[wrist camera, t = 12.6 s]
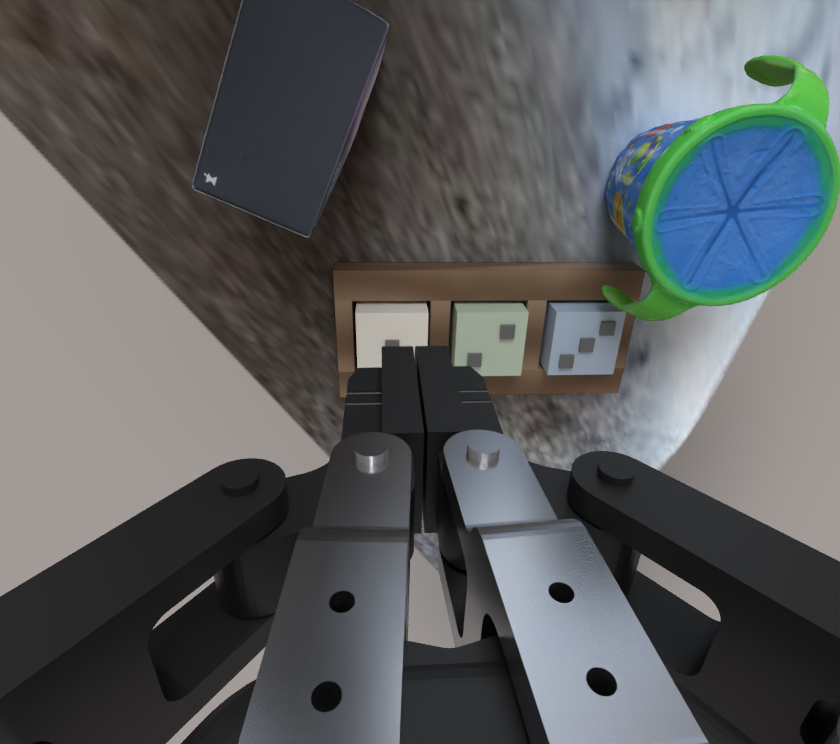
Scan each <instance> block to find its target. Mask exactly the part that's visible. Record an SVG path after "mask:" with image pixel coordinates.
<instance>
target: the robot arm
mask: <svg viewBox="0 0 840 744" xmlns="http://www.w3.org/2000/svg"><path fill="white" fill-rule="evenodd" d="M345 403H346V405H345V411H344V420H343V429H342V438H341V441H340V442H339V443H338V444H337V445H336V446H335V447H334V449H333V450H332V453H331V456H330V460H329V462H328V463H327V464H325V465H324V466H322V467H320V468H318V469H316V470H313V471H311V472H307V473H304V474H300V475H296V476H292V477H288V478H286V477H285V473H284V472H283V470H282V469H281V468H280V467H279V466H278V465H276V464H275V463H273V462H270V461H267V460H263V459H252V458H251V459H250V458H249V459H240V460H234V461H231V462H227V463H225V464H223V465H220V466H218V467H216V468H214V469H212V470H211V471H209V472H207V473H206V474H204V475H202V476H201V477H199V478H197V479H196V480H194V481H193V482H191V483H189V484H187V485H186V486H184V487H182V488H181V489H179V490H178V491H176V492H174V493H173V494H171V495H169V496H167V497H166V498H164V499H163V500H161V501H159V502H158V503H156V504H154V505H152V506H151V507H149V508H147V509H146V510H144V511H142V512H141V513H139V514H137V515H136V516H134V517H132V518H131V519H129V520H127V521H126V522H124V523H122V524H121V525H119V526H117V527H116V528H114V529H112V530H111V531H109V532H107V533H106V534H104V535H102V536H101V537H99V538H97V539H96V540H94V541H92V542H91V543H89V544H87V545H86V546H84V547H83V548H81V549H79V550H77V551H76V552H74V553H72V554H71V555H69V556H67V557H66V558H64V559H62V560H61V561H59V562H57V563H56V564H54V565H53V566H51V567H49V568H47V569H46V570H44V571H42V572H41V573H39V574H37V575H36V576H34V577H32V578H31V579H29V580H27V581H26V582H24V583H22V584H21V585H19V586H18V587H16V588H14V589H12V590H11V591H9V592H7V593H6V594H4V595H2V596H1V597H0V744H166V743H167V742H168V741H169V740H170V739H171V738H172V737H173V736H174V735H175V734H176V733H177V732H178V731H179V730H180V729H181V728H182V727H183V726H184V725H185V724H186V723H187V722H188V721H189V720H190V719H191V718H192V717H193V716H194V715H195V714H197V712H199V711H200V710H201V709H202V708H203V707H204V706H205V705H206V704H207V703H208V702H209V701H210V700H211V699H212V698H213V697H214V696H215V695H216V694H217V693H218V692H219V691H220V690H221V689H222V688H223V687H224V686H225V685H226V684H227V683H228V682H229V681H230V680H232V679H233V678H234V677H235V676H236V675H237V674H238V673H239V672H240V671H241V670H242V669H243V668H244V667H245V666H246V665H247V664H248V663H249V662H250V661H251V660H252V659H253V658H254V657H255V656H256V655H257V654H258V653H259V652H260V651H261V650H262V649H263V648H264V647H266V648H265V651H264V655H263V659H262V662H261V665H260V669H259V672H258V676H257V679H256V680H254V681H252V682H251V683H249V684H247V685H246V686H245V687H243V688H241V689H240V690H238V691H237V692H235V693H234V694H233V695H231V696H230V697H229V698H228V699H226V700H225V701H224V702H223V703H221V704H220V705H219V706H218V707H217V708H216V709H215V710H213V711H212V712H211V713H210V714H209V715H208V716H207V717H206V718H205V719H204V720H203V721H202V722H201V723H200V724H199V725H198V726H197V727H196V728H195V729H194V731H193V732H192V733H191V734H190V735H189V736H188V737H187V738H186V739H185V740H184V741H183V742H182V743H181V744H840V562H839V561H837V560H835V559H833V558H831V557H829V556H827V555H825V554H823V553H821V552H819V551H817V550H815V549H813V548H811V547H809V546H807V545H805V544H804V543H801V542H800V541H798V540H795V539H793V538H791V537H790V536H787V535H785V534H784V533H781V532H780V531H778V530H776V529H774V528H772V527H770V526H768V525H765V524H764V523H762V522H760V521H758V520H756V519H754V518H751V517H750V516H748V515H746V514H743V513H742V512H740V511H737V510H736V509H733V508H732V507H730V506H728V505H726V504H724V503H722V502H720V501H718V500H715V499H714V498H712V497H710V496H708V495H706V494H704V493H702V492H699V491H698V490H696V489H694V488H692V487H690V486H688V485H686V484H684V483H682V482H680V481H678V480H676V479H674V478H672V477H670V476H668V475H666V474H664V473H662V472H660V471H658V470H656V469H654V468H652V467H650V466H648V465H646V464H644V463H642V462H640V461H638V460H636V459H634V458H631V457H629V456H626V455H623V454H619V453H615V452H608V451H594V452H589V453H586V454H583V455H581V456H579V457H578V458H577V459H576V460H575V461H574V463H573V465H572V469H571V471H566V470H561V469H555V468H550V467H545V466H541V465H538V464H535V463H532V462H530V461H527V459H526V457H525V455H524V453H523V451H522V449H521V448H520V446H519V445H518V444H517V443H516V442H515V441H514V440H512V439H511V438H509V437H507V436H505V435H504V434H503V432H502V429H501V426H500V423H499V420H498V418H497V415H496V412H495V409H494V406H493V404H492V402H491V398H490V395H489V392H487V387H486V384H485V381H484V378H483V376H481V375H480V374H479V373H478V372H476V371H475V370H474V369H473V368H472V367H470V366H452V363H451V359H450V355H449V351H448V348H447V346H415V358H414V350H413V346H384V347H382V367H371V368H358V369H357V370H356V371H355V372H354V373H353V374H352V375H351V376H350V377H349V378H348V384H347V394H346V402H345ZM422 511H423V521H424V531H425V533H436V532H437V533H438V541H439V551H438V569H439V574H440V579H441V583H442V588H443V592H444V597H445V602H446V606H447V610H448V615H449V620H450V625H451V629H452V634H453V639H454V643H455V648H441V647H436V646H431V645H426V644H420V643H415V642H410V641H408V610H409V581H410V559H411V557H412V555H413V551H414V533H421V524H422ZM641 554H643V555H644V556H646V557H648V558H649V559H651V560H652V561H654V562H656V563H657V564H659V565H661V566H662V567H664V568H665V569H667V570H668V571H670V572H672V573H674V574H675V575H677V576H678V577H680V578H681V579H683V580H685V581H686V582H688V583H690V584H691V585H693V586H694V587H696V588H698V589H699V590H701V591H702V592H704V593H705V594H706V595H707V596H708V597H709V598H710V599H711V600H712V601H713V602H714V603H715V605H716V606H717V608H718V610H719V613H720V617H721V622H719V621H716V620H714V619H712V618H710V617H708V616H707V615H705V614H703V613H702V612H700V611H699V610H697V609H696V608H694V607H693V606H691V605H689V604H688V603H686V602H685V601H683V600H682V599H680V598H679V597H677V596H676V595H674V594H673V593H671V592H669V591H668V590H666V589H665V588H663V587H661V586H660V585H658V584H657V583H656V582H654V581H652V580H651V579H649V578H648V577H646V576H645V575H643V574H641V573H640V572H638V571H637V570H636V569H637V565H638V562H639V558H640V555H641ZM212 576H214V579H215V581H214V582H213V583H212V584H210V585H209V586H208V587H207V588H205V589H204V590H203V591H201V592H200V593H199V594H198V595H196V596H195V597H194V598H193V599H191V600H190V601H189V602H188V603H186V604H185V605H184V606H182V607H181V608H180V609H179V610H177V611H176V612H175V613H174V614H172V615H171V616H170V617H168V618H167V619H166V620H165V621H163V622H162V623H161V624H159V625H158V626H157V627H156V628H154V629H153V627H154V626H155V624H156V623H157V622H158V620H159V619H160V618H161V617H162V616H163V615H164V614H165V613H166V612H167V611H169V610H170V609H171V608H172V607H174V606H175V605H176V604H178V603H179V602H180V601H181V600H183V599H184V598H185V597H186V596H188V595H189V594H190V593H192V592H193V591H194V590H195V589H197V588H198V587H200V586H201V585H202V584H203V583H205V582H206V581H207V580H208V579H210V578H211V577H212ZM152 629H153V630H152Z"/></svg>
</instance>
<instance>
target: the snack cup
mask: <svg viewBox="0 0 840 744" xmlns="http://www.w3.org/2000/svg"><path fill="white" fill-rule="evenodd" d="M744 69H745V72H746V74H747V75H748V76H749V77H751V78H752V79H754V80H756V81H758V82H760V83H762V84H766V85H769V86H774V87H776V86H783V85H788V84H791V83H793V84H792V86H791V87H790V89H789V91H788V92H787V93H786V94H785V95H784V96H783V97H782V98H781V99H779V100H778V101H776V102H774V103H770V104H751V105H742V106H737V107H733V108H728V109H725V110H722V111H719V112H717V113H715V114H712V115H708V116H705V117H703V118H698V119H693V120H690V121H681V122H676V123H672V124H665V125H662V126H659V127H655V128H653V129H651V130H649V131H647V132H644V133H641V134H639V135H638V136H637V137H636V138H634V139H633V140H631V142H630V143H629V145H628V146H627V147H626V148H625V149H624V150H623V151H622V152H621V153H620V154H619V156H618V157H617V159H616V161H615V163H614V165H613V167H612V170H611V173H610V177H609V179H608V182H607V186H606V190H605V198H606V201H607V208H608V212H609V214H610V217H611V219H612V221H613V223H614V224H615V226H616V227H617V228H618V230H619V231H620V232H621V233H622V235H623V236H624V237H625V238H626V240H627V241H628V242H629V243H630V245H631V246H632V247H633V248H634V250H635V251H636V252H637V255H638V257H639V259H640V262H641V264H642V266H643V268H644V269H645V271H646V272H647V273H648V275H649V276H650V278H651V282H652V287H651V290H650V292H649V293H648V296H647V297H646V299H645V300H641V301H637V302H634V301H633V300H632V299H631V298H630V297H629V296H628V295H627V294H625V293H624V292H622V291H620V290H618V289H616V288H614V287H612V286H609V285H604V286H603V287H602V291H603V295H604V296H605V297H606V299H607V300H608V301H609V302H610V303H611V304H613V305H614V306H615V307H617V308H618V309H620V310H622V311H624V312H626V313H629V314H631V315H634V316H635V317H638V318H640V319H643V320H648V321H659V320H664V319H669V318H672V317H674V316H677V315H680V314H681V313H683V312H685V311H686V310H688V309H690V308H692V307H694V306H697V305H706V306H722V305H729V304H734V303H739V302H742V301H745V300H748V299H751V298H753V297H755V296H757V295H759V294H761V293H763V292H766V291H767V290H769V289H771V288H772V287H774V286H775V285H777V284H779V283H780V282H782V281H783V280H784V279H786V278H787V277H788V276H789V275H790V274H792V273H793V272H794V271H795V270H796V269H797V268H798V267H799V266H800V265H801V264H802V263H803V262H804V261H805V260H806V259H807V257H808V256H809V255H810V254H811V253H812V251H813V250H814V249H815V247H816V246H817V245H818V243H819V242H820V240H821V239H822V237H823V235H824V233H825V232H826V230H827V227H828V226H829V224H830V221H831V219H832V216H833V213H834V211H835V208H836V204H837V200H838V195H839V189H840V162H839V158H838V154H837V151H836V148H835V145H834V143H833V141H832V139H831V137H830V136H829V134H828V132H827V131H826V122H827V119H828V113H829V97H828V91H827V88H826V86H825V84H824V82H823V81H822V79H821V78H820V77H819V76H817V75H816V74H815V73H814V72H812V71H810V70H808V69H806V68H805V67H804V65H802V64H801V63H799V62H797V61H794V60H792V59H790V58H786V57H782V56H774V55H773V56H760V57H755V58H753V59H751V60H749V61H748V62H746V64H745V66H744Z"/></svg>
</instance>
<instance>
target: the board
mask: <svg viewBox="0 0 840 744" xmlns="http://www.w3.org/2000/svg"><path fill="white" fill-rule="evenodd" d="M644 274H645V270H643V269H642V268H641V267H639V266H638V265H636V264H635V263H473V262H335V264H334V268H333V283H334V300H335V318H336V335H337V353H338V370H339V387H340V397H346V394H347V384H348V378H349V377H350V376H351V375H352V374H353V373H354V372H355V371H356V370H357V360H356V353H355V328H354V303H353V301H429V303H428V346H447V348H448V345H449V325H450V305H451V301H520V300H521V301H522V303H523V304H524V306H525V307H526V309H527V310H528V312H529V314H528V323H527V331H526V339H525V347H524V355H523V363H522V372H521V376H483V378H484V381H485V384H486V387H487V392H489V395H506V394H569V393H618V391H619V386H620V382H621V377H622V373H623V368H624V364H625V359H626V355H627V350H628V346H629V341H630V337H631V332H632V328H633V323H634V319H635V316H634V315H631V314H629V313H626V316H625V321H624V325H623V330H622V335H621V339H620V344H619V349H618V354H617V358H616V363H615V368H614V372H613V374H598V375H547V373H546V372H545V370H544V368H543V367H542V365H541V363H540V362H539V356H540V349H541V342H542V334H543V327H544V320H545V313H546V305H547V300H607V299H606V297H605V296H604V295H603V291H602V287H603V286H604V285H609V286H612V287H614V288H616V289H618V290H620V291H622V292H624V293H625V294H627V295H628V296H629V297H630V298H631V299H632V300H633V301H634V302H637V301H639V296H640V292H641V287H642V283H643V278H644Z"/></svg>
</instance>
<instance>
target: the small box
mask: <svg viewBox="0 0 840 744" xmlns="http://www.w3.org/2000/svg"><path fill="white" fill-rule="evenodd" d="M388 29H389V24H388V23H387V22H386V21H385V20H383V19H382V18H380V17H378V16H377V15H375V14H373V13H372V12H370V11H369V10H367V9H365V8H364V7H361V6H360V5H358V4H356V3H354V2H353V1H351V0H242V1H241V4H240V8H239V12H238V16H237V20H236V24H235V26H234V30H233V34H232V38H231V41H230V45H229V49H228V52H227V56H226V59H225V63H224V66H223V70H222V74H221V78H220V81H219V85H218V89H217V93H216V96H215V100H214V105H213V108H212V111H211V115H210V118H209V122H208V126H207V130H206V133H205V136H204V140H203V144H202V148H201V151H200V155H199V159H198V164H197V166H196V170H195V174H194V177H193V181H192V188H193V189H194V191H196V192H199V193H201V194H204V195H207V196H209V197H211V198H214V199H216V200H218V201H221V202H223V203H225V204H228V205H230V206H232V207H235V208H237V209H239V210H242V211H244V212H247V213H249V214H252V215H254V216H256V217H258V218H261V219H263V220H265V221H268V222H270V223H272V224H275V225H277V226H280V227H282V228H284V229H286V230H289V231H292V232H294V233H296V234H298V235H301V236H303V237H306V238H308V237H310V236H311V234H312V232H313V230H314V228H315V226H316V224H317V222H318V220H319V218H320V216H321V214H322V212H323V210H324V208H325V206H326V204H327V202H328V200H329V197H330V195H331V193H332V191H333V189H334V186H335V184H336V182H337V179H338V177H339V174H340V172H341V170H342V167H343V165H344V162H345V160H346V158H347V155H348V153H349V151H350V148H351V146H352V143H353V141H354V138H355V136H356V133H357V131H358V128H359V125H360V122H361V119H362V117H363V114H364V111H365V108H366V105H367V103H368V100H369V97H370V94H371V91H372V88H373V86H374V83H375V80H376V77H377V74H378V70H379V67H380V64H381V60H382V56H383V53H384V49H385V44H386V39H387V34H388Z"/></svg>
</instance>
